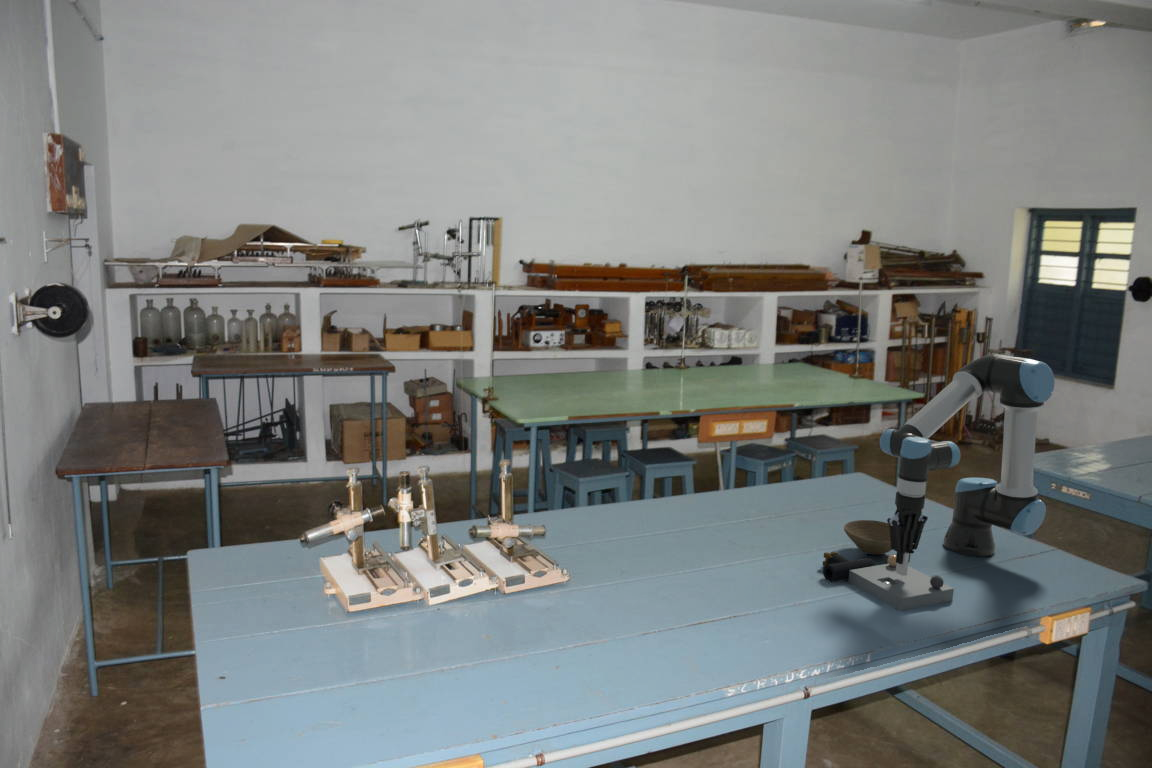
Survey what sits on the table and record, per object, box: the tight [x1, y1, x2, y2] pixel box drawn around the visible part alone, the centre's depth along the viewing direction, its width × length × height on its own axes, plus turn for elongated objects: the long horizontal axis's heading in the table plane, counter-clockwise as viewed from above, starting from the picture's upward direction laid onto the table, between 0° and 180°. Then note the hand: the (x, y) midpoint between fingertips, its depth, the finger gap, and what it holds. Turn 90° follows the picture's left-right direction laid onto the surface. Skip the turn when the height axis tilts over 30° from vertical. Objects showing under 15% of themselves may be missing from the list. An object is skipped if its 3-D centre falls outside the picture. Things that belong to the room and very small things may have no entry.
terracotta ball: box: [887, 554, 897, 567], centre depth 250 cm, size 3×3×3 cm
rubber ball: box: [930, 575, 945, 589], centre depth 236 cm, size 3×3×3 cm
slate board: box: [847, 563, 955, 612], centre depth 241 cm, size 19×20×4 cm
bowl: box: [843, 519, 893, 556], centre depth 269 cm, size 18×18×8 cm
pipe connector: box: [822, 550, 876, 583], centre depth 252 cm, size 12×5×15 cm
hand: (901, 573), depth 241 cm, fingers closed
